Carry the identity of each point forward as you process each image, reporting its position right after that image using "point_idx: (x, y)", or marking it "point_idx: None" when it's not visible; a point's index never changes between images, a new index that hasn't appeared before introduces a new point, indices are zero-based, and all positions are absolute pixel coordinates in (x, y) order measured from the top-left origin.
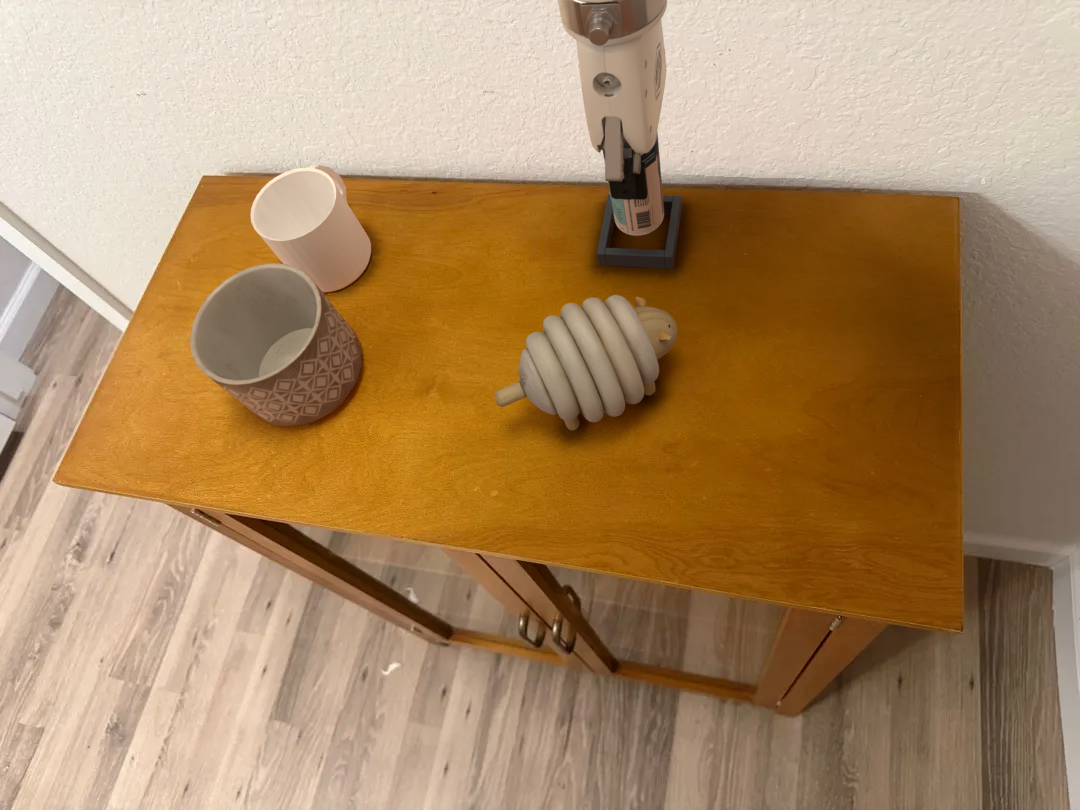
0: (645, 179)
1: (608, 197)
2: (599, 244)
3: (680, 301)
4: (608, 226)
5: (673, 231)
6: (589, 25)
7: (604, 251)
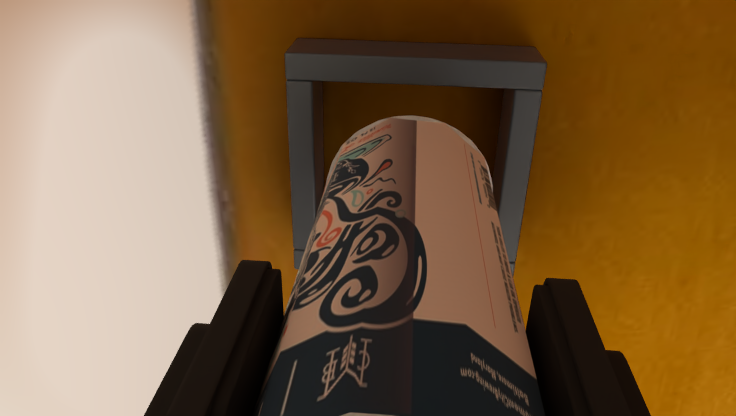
0: (605, 366)
1: None
2: None
3: (664, 12)
4: None
5: (439, 67)
6: None
7: None
